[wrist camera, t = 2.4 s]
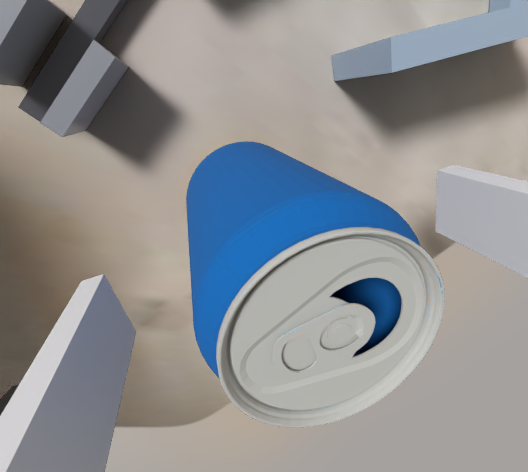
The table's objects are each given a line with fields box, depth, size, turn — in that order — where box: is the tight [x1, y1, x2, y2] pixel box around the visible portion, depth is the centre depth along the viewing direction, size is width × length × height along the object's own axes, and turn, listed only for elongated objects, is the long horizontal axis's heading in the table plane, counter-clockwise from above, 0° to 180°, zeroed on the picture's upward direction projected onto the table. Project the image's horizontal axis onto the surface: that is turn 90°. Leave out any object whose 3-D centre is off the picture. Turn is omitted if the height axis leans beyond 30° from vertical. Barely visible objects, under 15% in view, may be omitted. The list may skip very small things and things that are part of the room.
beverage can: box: [186, 142, 445, 427], centre depth 12 cm, size 6×6×12 cm
